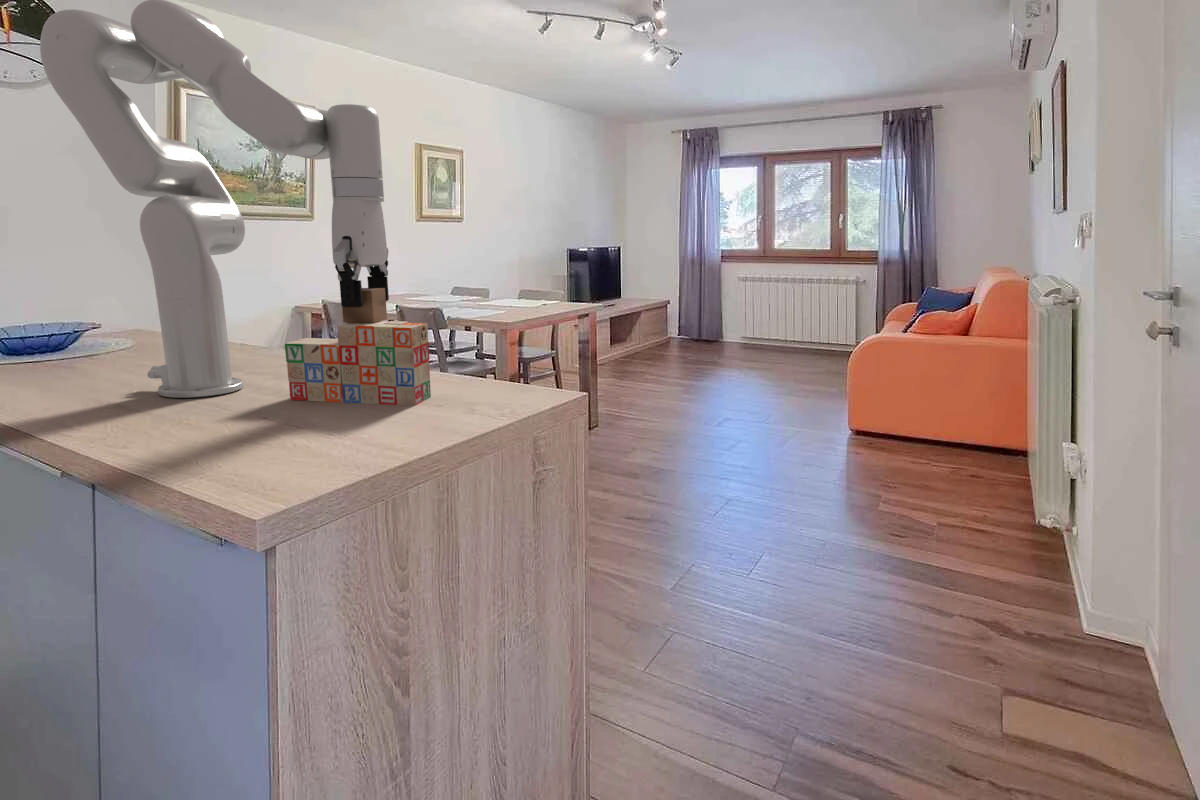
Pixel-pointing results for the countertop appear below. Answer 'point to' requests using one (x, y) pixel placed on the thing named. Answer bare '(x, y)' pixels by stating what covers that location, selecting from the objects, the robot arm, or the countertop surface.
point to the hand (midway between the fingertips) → (366, 303)
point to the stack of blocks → (362, 365)
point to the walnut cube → (367, 307)
